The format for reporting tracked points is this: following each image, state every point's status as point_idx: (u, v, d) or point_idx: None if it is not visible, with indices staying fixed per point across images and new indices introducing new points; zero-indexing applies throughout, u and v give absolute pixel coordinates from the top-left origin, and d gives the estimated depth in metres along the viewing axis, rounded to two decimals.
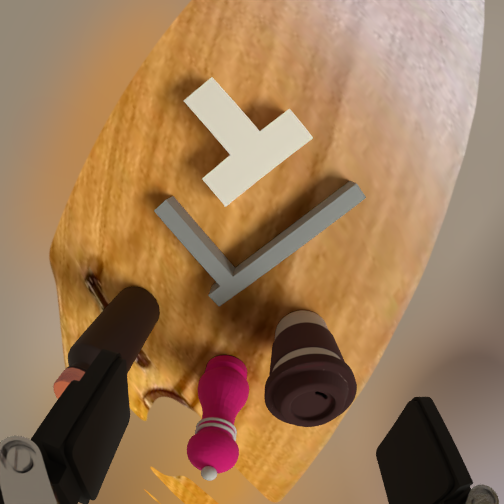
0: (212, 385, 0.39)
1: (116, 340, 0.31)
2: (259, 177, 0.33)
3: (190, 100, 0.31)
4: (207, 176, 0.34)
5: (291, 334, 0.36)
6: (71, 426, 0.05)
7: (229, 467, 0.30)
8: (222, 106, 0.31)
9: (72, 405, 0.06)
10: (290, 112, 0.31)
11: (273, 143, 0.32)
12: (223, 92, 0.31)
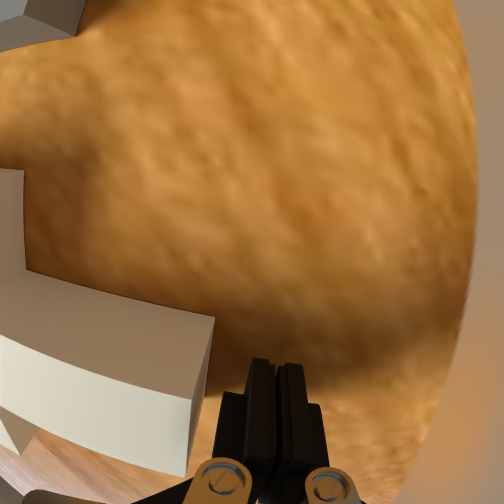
0: None
1: None
2: None
3: (170, 410, 0.07)
4: None
5: None
6: (269, 434, 0.07)
7: None
8: (83, 427, 0.08)
9: (258, 414, 0.07)
10: (13, 450, 0.09)
11: None
12: (119, 456, 0.08)
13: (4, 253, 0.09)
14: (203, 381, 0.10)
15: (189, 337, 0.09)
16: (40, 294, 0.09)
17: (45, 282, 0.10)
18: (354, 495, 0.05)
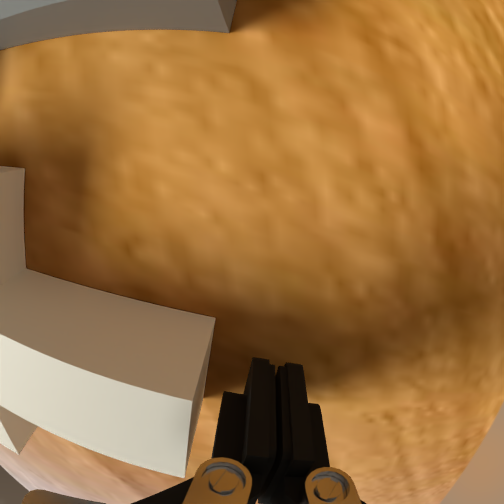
0: None
1: None
2: None
3: (170, 411, 0.07)
4: None
5: None
6: (269, 434, 0.07)
7: None
8: (82, 426, 0.08)
9: (258, 414, 0.07)
10: (11, 449, 0.09)
11: None
12: (118, 456, 0.08)
13: (4, 252, 0.09)
14: (203, 382, 0.10)
15: (189, 338, 0.09)
16: (40, 292, 0.09)
17: (45, 281, 0.10)
18: (353, 495, 0.05)
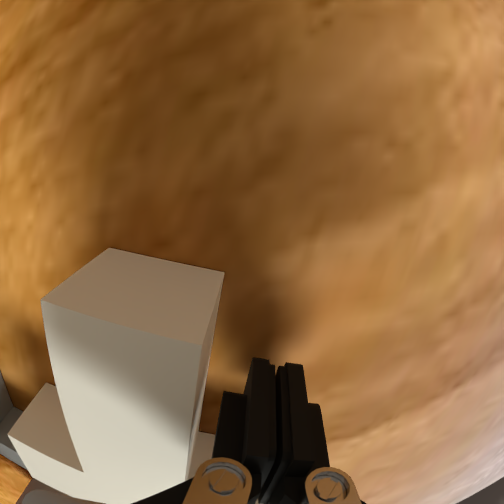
0: None
1: None
2: None
3: (61, 324, 0.06)
4: (19, 442, 0.09)
5: None
6: (269, 434, 0.07)
7: None
8: (143, 427, 0.07)
9: (258, 414, 0.07)
10: None
11: None
12: (184, 412, 0.07)
13: None
14: (146, 273, 0.09)
15: None
16: None
17: None
18: (354, 495, 0.05)
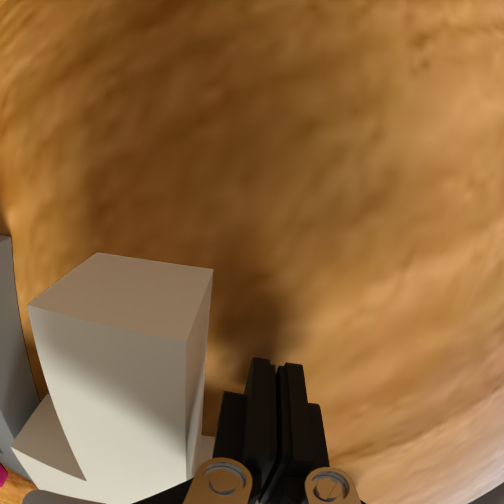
0: None
1: None
2: None
3: (48, 328, 0.06)
4: (22, 454, 0.08)
5: None
6: (269, 434, 0.07)
7: None
8: (137, 431, 0.07)
9: (258, 415, 0.07)
10: None
11: None
12: (176, 413, 0.07)
13: None
14: (133, 274, 0.09)
15: None
16: None
17: None
18: (353, 495, 0.05)
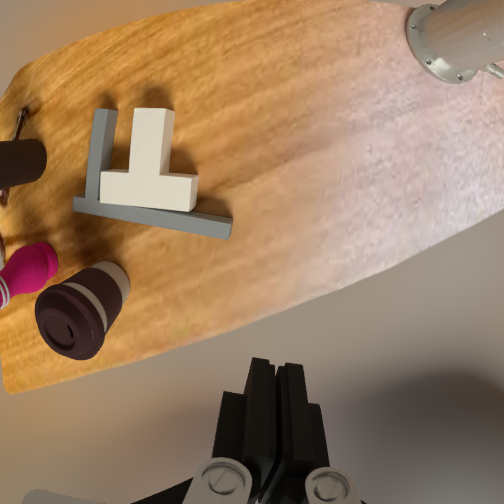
0: (23, 258, 0.37)
1: None
2: (133, 204, 0.37)
3: (138, 112, 0.33)
4: (104, 173, 0.36)
5: (94, 275, 0.38)
6: (269, 434, 0.07)
7: None
8: (152, 135, 0.34)
9: (258, 414, 0.07)
10: (189, 181, 0.36)
11: (160, 191, 0.36)
12: (162, 126, 0.34)
13: (129, 170, 0.38)
14: None
15: None
16: None
17: None
18: (354, 495, 0.05)
